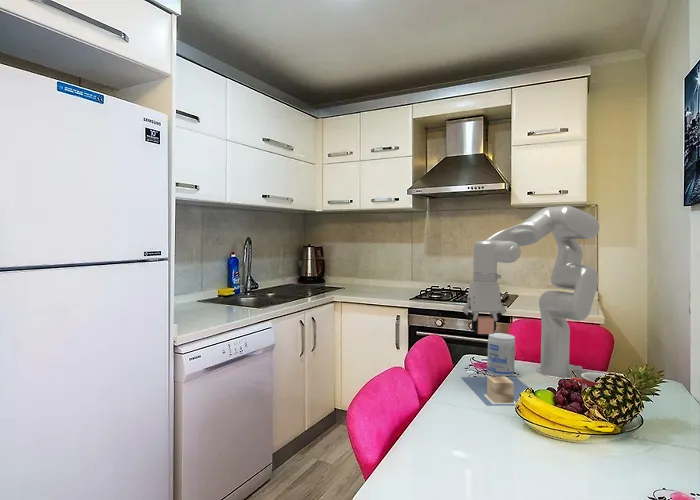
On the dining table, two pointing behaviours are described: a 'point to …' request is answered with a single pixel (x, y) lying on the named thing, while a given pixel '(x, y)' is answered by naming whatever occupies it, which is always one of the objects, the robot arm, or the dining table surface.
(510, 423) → the dining table surface
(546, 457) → the dining table surface
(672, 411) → the dining table surface
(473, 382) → the board
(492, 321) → the terracotta block
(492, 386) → the beech block
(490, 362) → the supplement tub
